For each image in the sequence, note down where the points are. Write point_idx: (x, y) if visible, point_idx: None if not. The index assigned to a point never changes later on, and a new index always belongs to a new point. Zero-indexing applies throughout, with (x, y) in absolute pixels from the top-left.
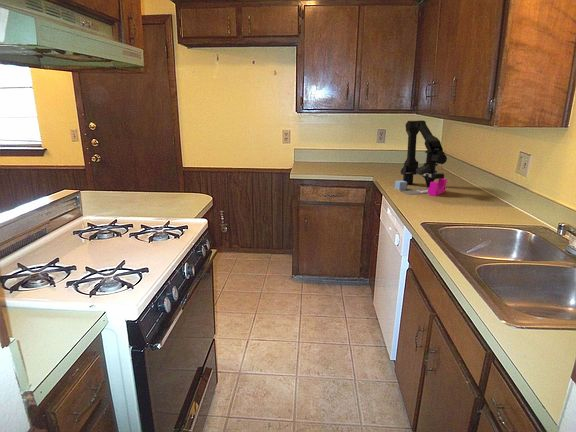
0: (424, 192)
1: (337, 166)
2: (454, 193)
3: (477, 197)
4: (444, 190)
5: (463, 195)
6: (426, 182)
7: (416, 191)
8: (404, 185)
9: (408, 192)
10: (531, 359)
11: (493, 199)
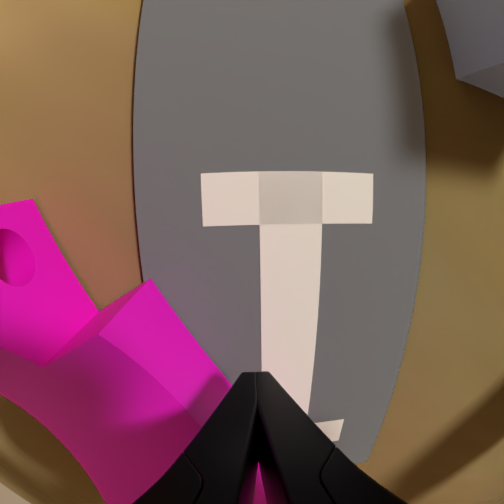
0: (182, 231)
1: None
2: None
3: (32, 483)
4: None
5: (65, 481)
6: (294, 450)
7: (304, 126)
8: (491, 16)
9: None
10: None
11: (15, 487)
